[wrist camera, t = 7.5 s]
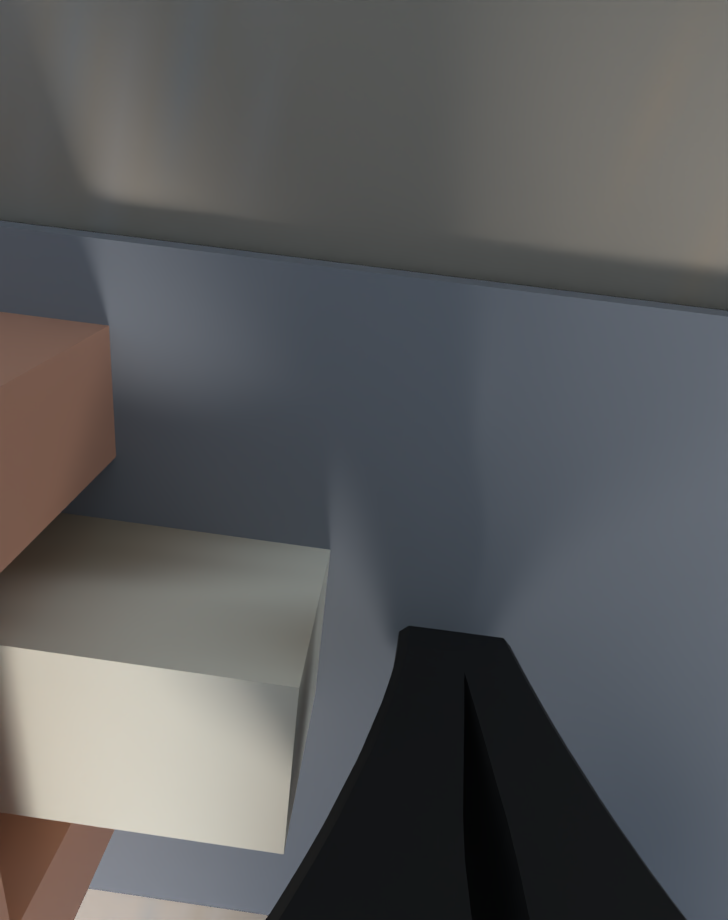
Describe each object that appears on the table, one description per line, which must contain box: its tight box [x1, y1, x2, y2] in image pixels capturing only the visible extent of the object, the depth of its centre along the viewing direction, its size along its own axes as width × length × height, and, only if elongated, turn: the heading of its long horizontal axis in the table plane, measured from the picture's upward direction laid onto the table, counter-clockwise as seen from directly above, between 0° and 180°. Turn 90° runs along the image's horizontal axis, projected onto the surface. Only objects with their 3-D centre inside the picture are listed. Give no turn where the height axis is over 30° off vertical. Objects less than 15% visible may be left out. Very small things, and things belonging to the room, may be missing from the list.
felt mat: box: [0, 221, 728, 920], centre depth 10 cm, size 32×12×1 cm, turn 84°
